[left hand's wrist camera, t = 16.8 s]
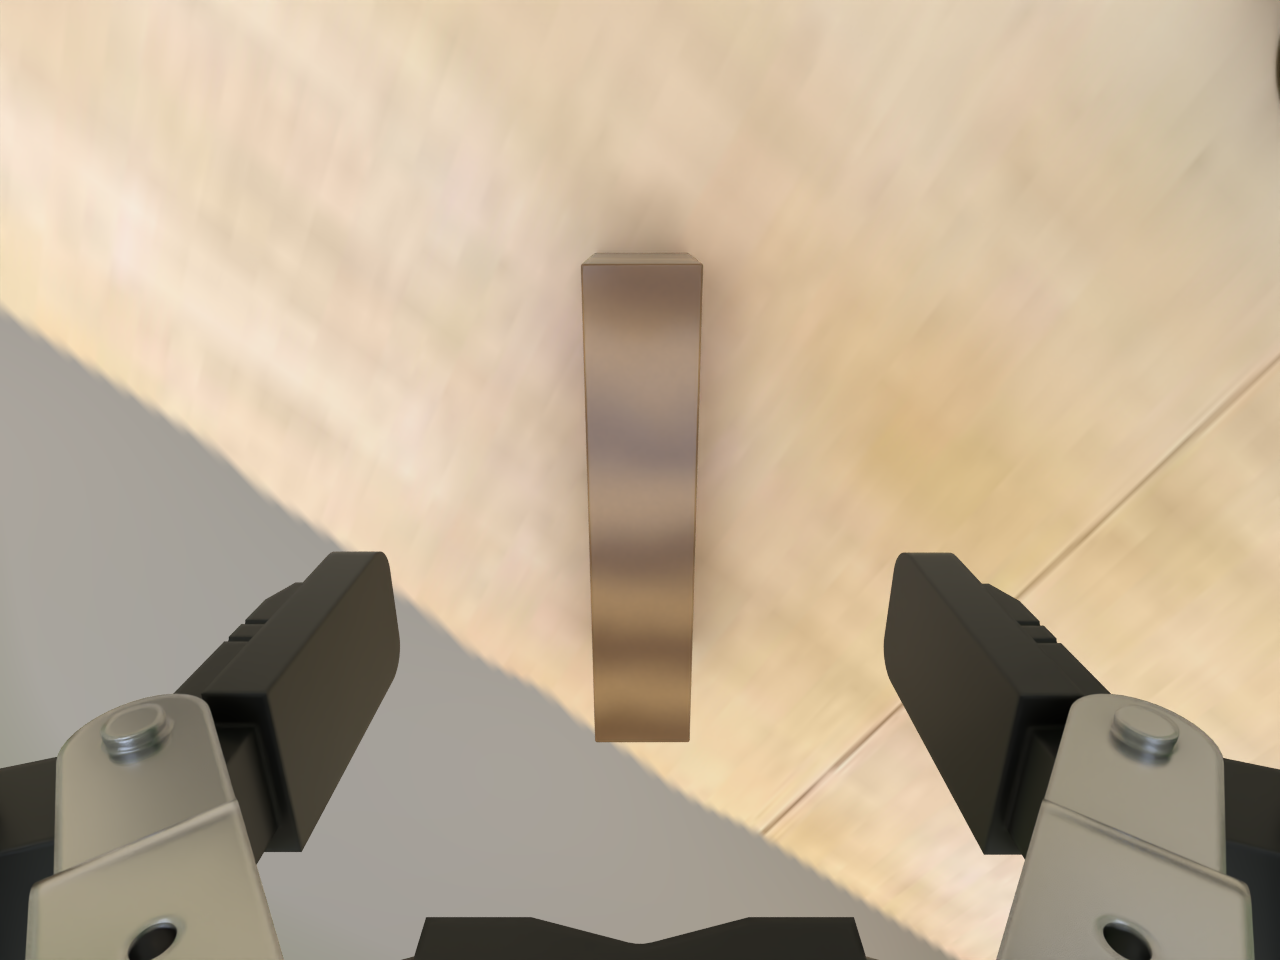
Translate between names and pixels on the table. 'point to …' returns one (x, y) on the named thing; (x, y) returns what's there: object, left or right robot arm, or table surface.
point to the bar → (642, 487)
